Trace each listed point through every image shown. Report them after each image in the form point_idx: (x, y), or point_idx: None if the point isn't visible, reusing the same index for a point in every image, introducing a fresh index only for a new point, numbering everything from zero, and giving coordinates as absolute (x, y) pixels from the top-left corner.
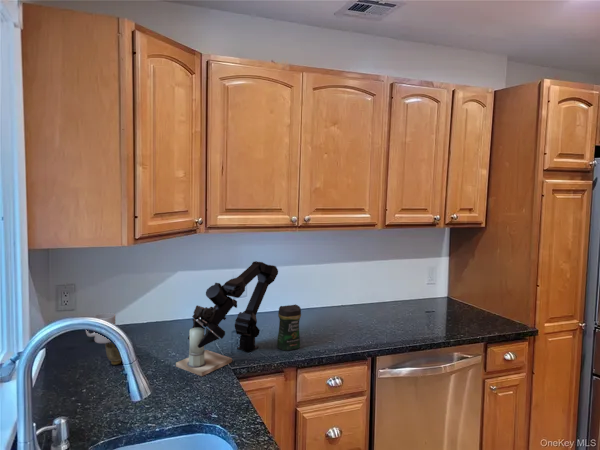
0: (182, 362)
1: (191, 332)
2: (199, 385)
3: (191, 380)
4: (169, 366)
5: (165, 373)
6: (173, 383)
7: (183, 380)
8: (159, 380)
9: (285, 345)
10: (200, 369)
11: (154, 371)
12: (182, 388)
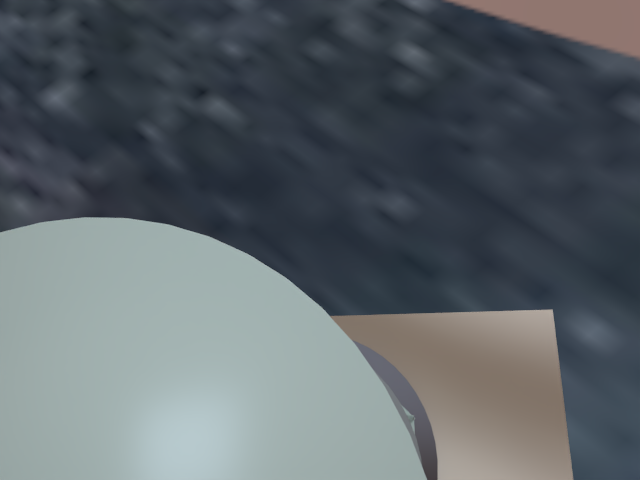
0: (493, 369)
1: (93, 227)
2: (5, 187)
3: (135, 204)
4: (600, 271)
5: (469, 136)
6: (229, 65)
7: (198, 156)
8: (380, 20)
9: None
10: None
11: (602, 92)
12: (95, 62)
